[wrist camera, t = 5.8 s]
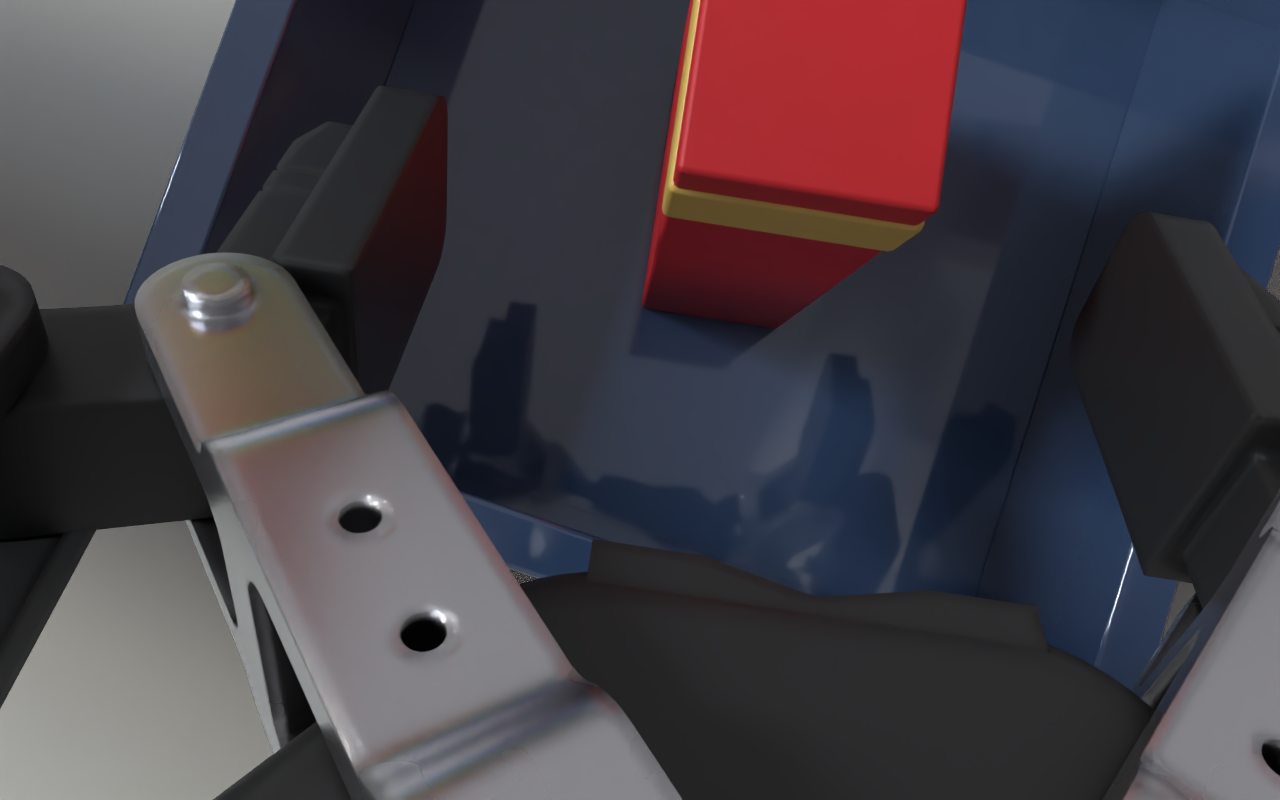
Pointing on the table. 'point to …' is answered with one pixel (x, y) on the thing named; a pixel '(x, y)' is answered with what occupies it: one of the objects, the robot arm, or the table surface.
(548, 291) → the tray
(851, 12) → the red box
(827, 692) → the robot arm
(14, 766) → the table surface
